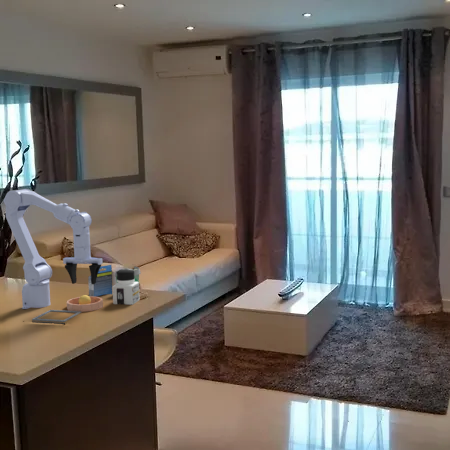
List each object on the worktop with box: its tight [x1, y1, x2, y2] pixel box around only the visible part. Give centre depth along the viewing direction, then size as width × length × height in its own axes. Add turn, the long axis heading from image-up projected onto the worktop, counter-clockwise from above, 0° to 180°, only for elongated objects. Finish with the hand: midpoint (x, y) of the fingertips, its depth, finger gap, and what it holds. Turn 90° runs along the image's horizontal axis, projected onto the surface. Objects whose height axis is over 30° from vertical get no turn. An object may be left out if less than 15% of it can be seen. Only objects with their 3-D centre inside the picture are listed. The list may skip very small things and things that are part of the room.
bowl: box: [66, 295, 104, 313], centre depth 221 cm, size 13×13×3 cm
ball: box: [79, 294, 91, 305], centre depth 221 cm, size 4×4×4 cm
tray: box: [31, 309, 82, 325], centre depth 210 cm, size 12×12×1 cm
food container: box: [114, 266, 142, 284], centre depth 243 cm, size 12×6×10 cm, turn 148°
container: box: [112, 268, 141, 305], centre depth 228 cm, size 8×8×13 cm
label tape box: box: [88, 264, 113, 297], centre depth 241 cm, size 9×4×12 cm, turn 136°
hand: (83, 283), depth 220 cm, fingers open, 7 cm apart
